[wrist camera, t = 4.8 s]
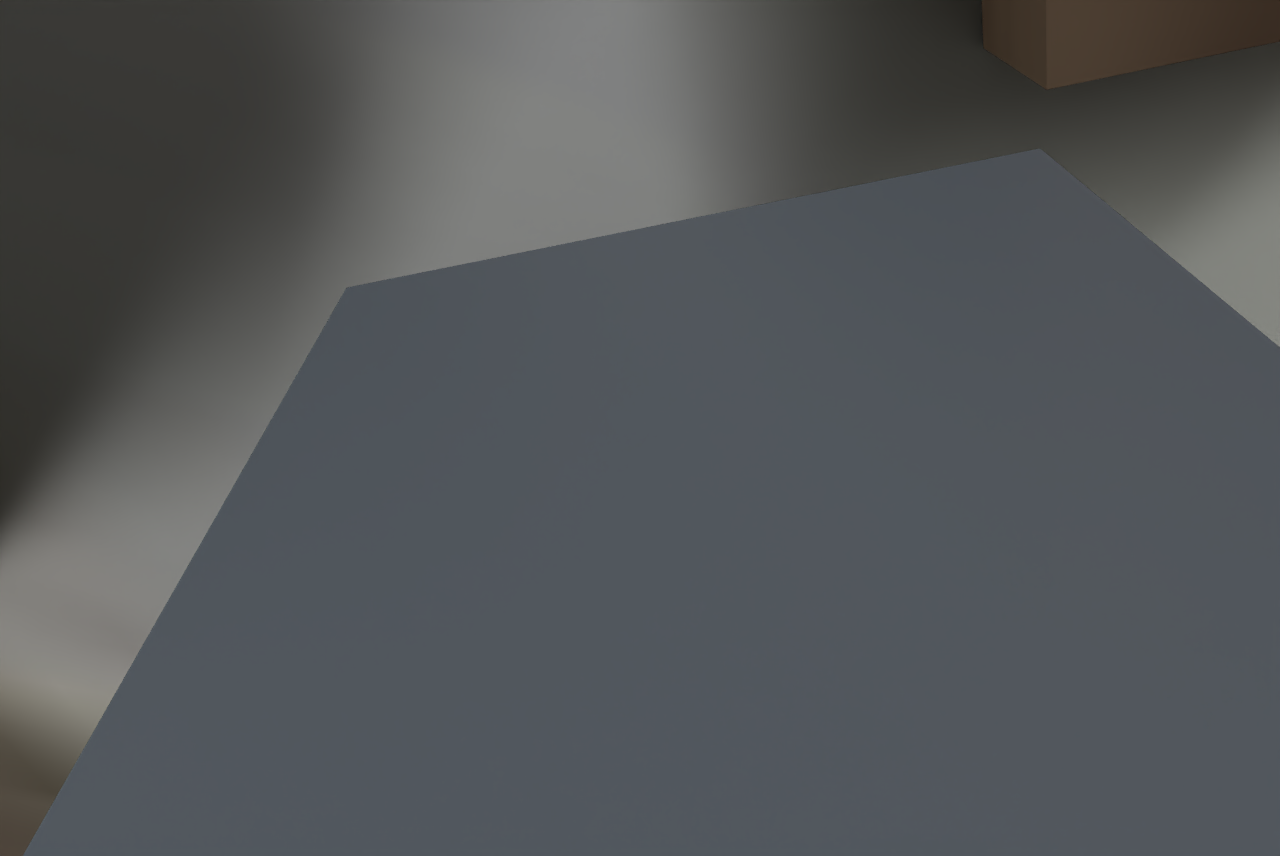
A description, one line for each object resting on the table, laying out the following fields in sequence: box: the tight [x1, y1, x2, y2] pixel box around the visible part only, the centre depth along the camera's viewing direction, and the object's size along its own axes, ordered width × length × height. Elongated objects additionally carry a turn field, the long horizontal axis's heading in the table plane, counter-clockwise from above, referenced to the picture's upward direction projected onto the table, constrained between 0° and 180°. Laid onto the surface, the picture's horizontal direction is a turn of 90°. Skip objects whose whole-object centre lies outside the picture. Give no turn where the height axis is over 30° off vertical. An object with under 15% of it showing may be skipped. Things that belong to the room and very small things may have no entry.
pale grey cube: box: [23, 149, 1280, 856], centre depth 8 cm, size 6×6×7 cm
